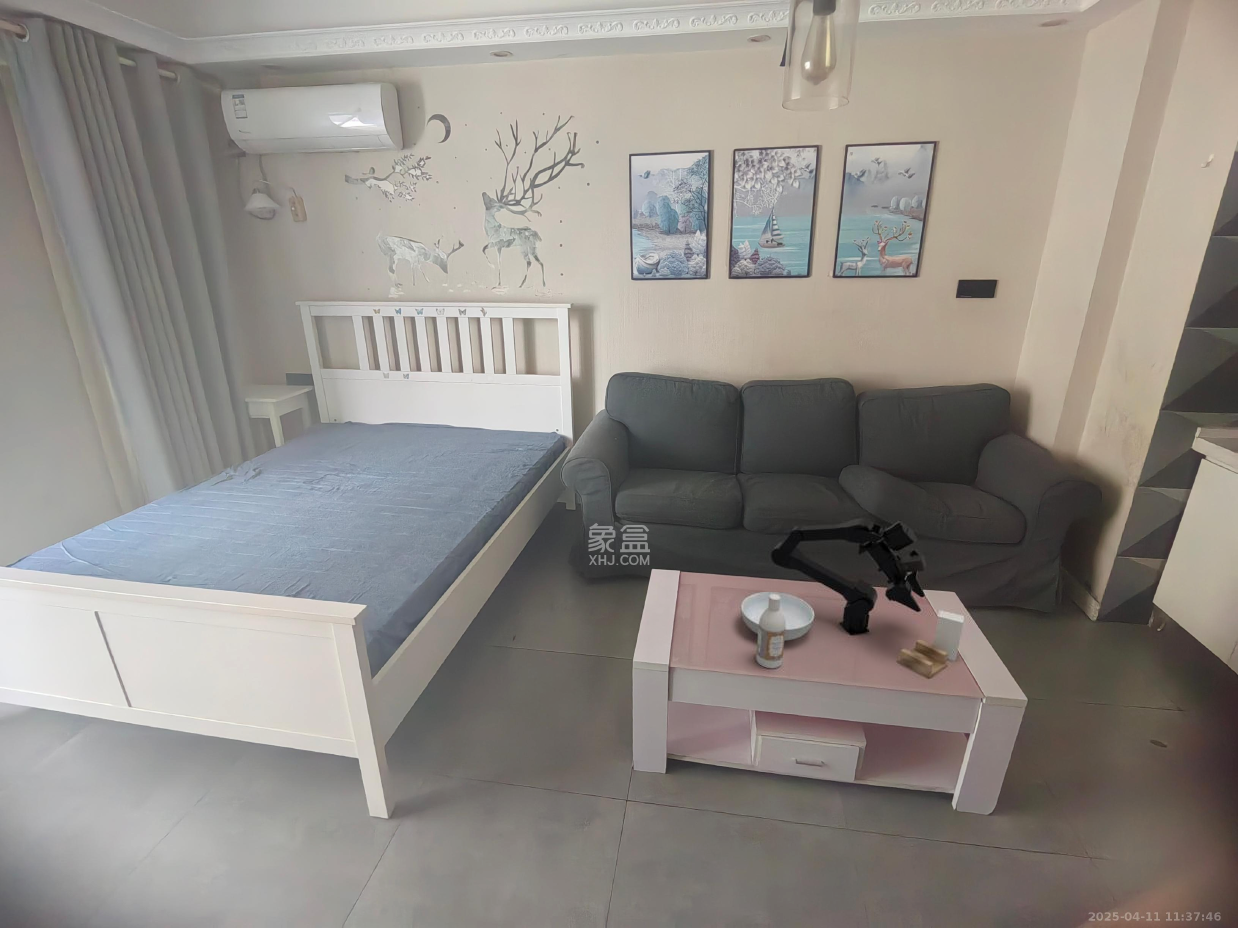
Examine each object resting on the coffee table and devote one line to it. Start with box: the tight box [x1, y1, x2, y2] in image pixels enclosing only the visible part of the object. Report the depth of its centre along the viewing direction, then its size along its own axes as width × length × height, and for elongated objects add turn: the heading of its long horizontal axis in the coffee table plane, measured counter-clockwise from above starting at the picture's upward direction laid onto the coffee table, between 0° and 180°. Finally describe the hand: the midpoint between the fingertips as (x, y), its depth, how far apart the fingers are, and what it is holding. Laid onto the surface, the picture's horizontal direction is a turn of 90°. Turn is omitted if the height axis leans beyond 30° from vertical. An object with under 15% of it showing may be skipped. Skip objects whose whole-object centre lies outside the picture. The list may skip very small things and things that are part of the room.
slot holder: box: [896, 639, 949, 679], centre depth 166 cm, size 9×9×4 cm
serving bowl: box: [740, 591, 815, 641], centre depth 181 cm, size 21×21×7 cm
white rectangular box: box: [932, 609, 965, 662], centre depth 169 cm, size 6×4×12 cm, turn 58°
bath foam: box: [755, 594, 786, 669], centre depth 164 cm, size 7×7×20 cm
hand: (921, 603), depth 170 cm, fingers open, 9 cm apart
